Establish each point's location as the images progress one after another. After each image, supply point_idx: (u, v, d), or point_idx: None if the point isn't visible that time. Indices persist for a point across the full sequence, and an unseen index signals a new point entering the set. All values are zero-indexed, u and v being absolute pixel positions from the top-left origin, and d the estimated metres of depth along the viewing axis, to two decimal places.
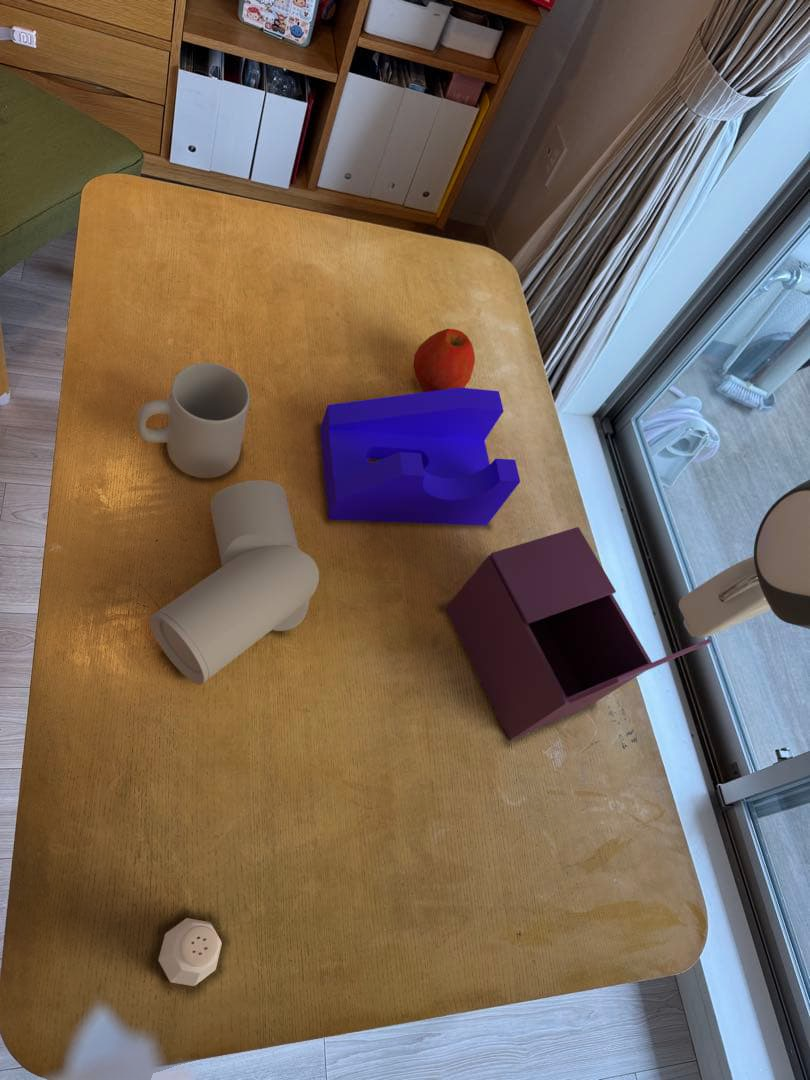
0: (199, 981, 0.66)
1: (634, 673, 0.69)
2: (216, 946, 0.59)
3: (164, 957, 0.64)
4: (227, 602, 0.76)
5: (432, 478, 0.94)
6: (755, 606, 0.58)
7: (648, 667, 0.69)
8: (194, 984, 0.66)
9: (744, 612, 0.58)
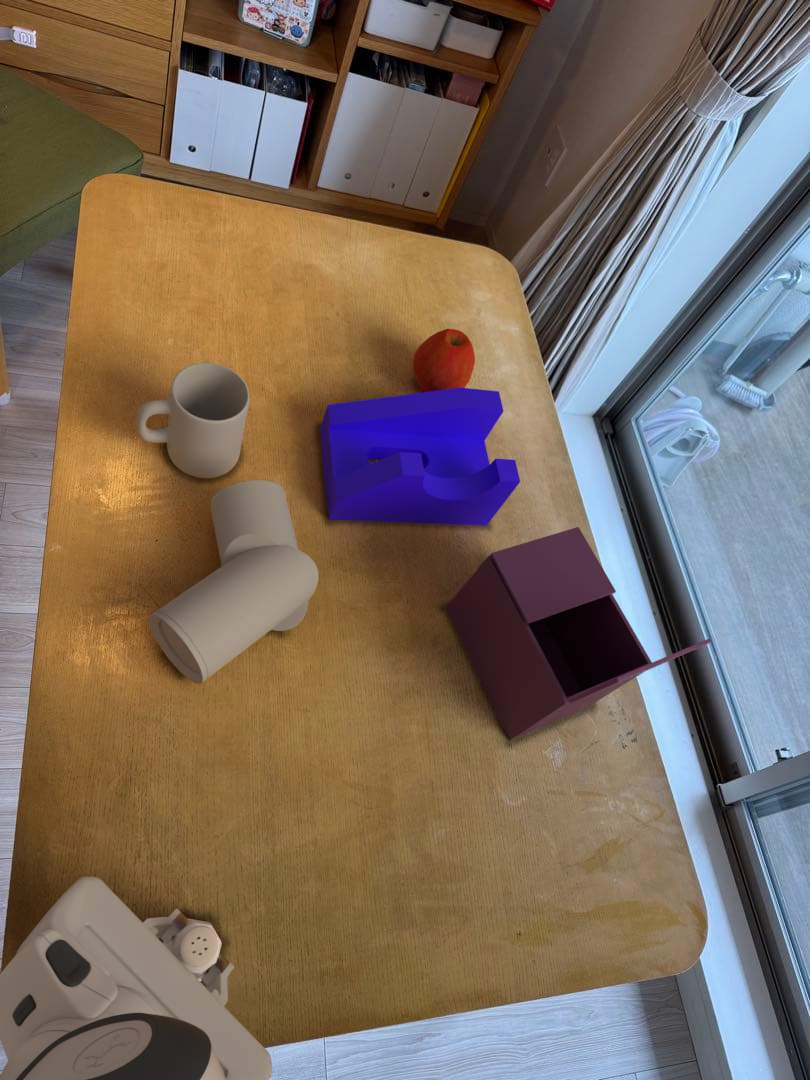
0: None
1: (634, 673, 0.69)
2: (216, 946, 0.59)
3: None
4: (227, 602, 0.76)
5: (432, 478, 0.94)
6: None
7: (648, 667, 0.69)
8: None
9: None
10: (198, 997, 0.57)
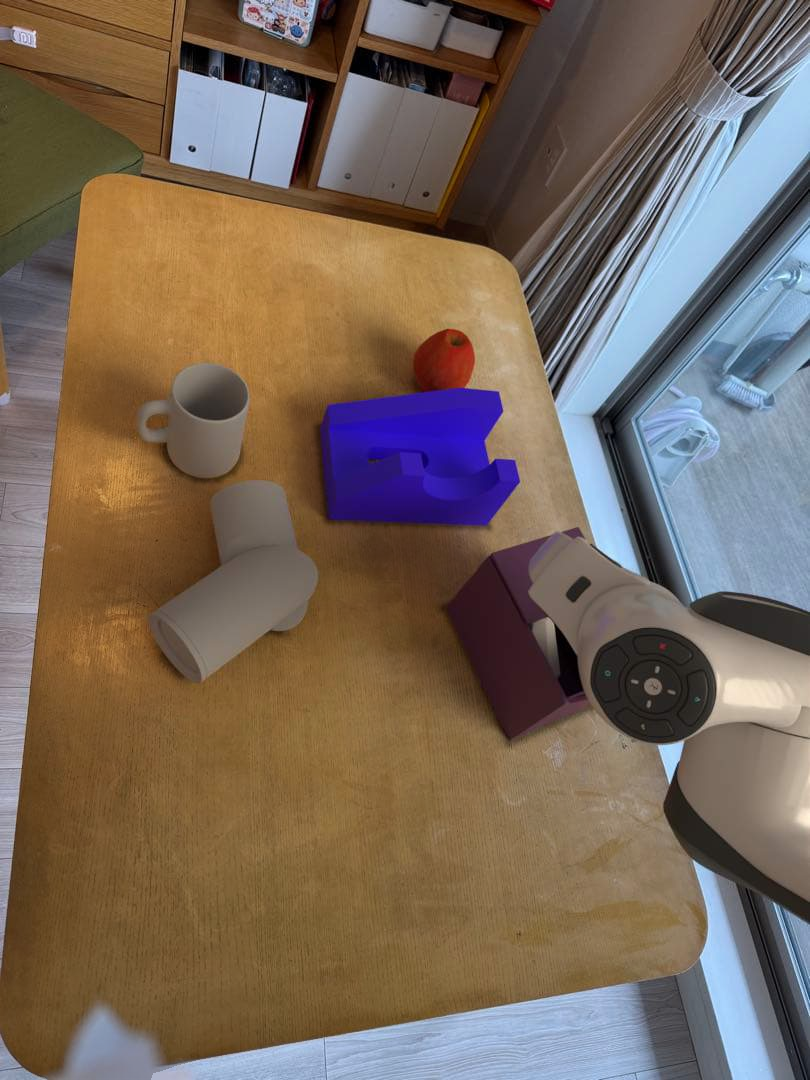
0: None
1: None
2: None
3: None
4: (226, 602, 0.76)
5: (432, 478, 0.94)
6: None
7: None
8: None
9: None
10: None
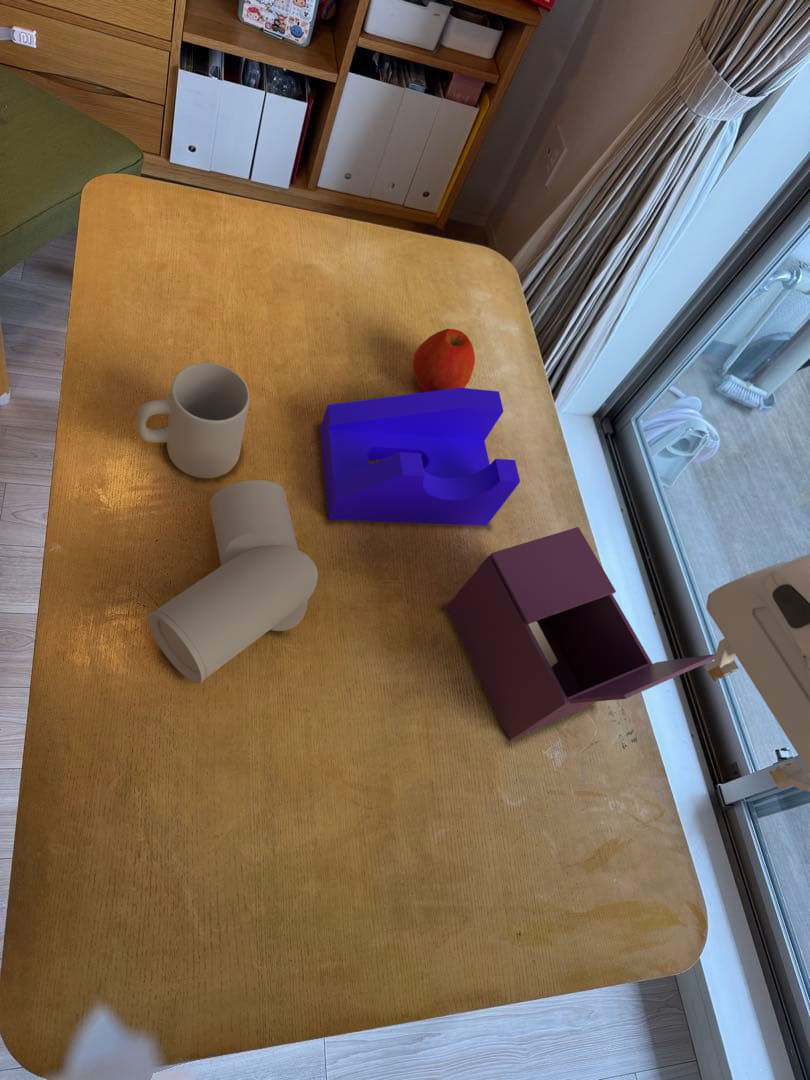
0: None
1: (641, 690, 0.68)
2: None
3: None
4: (226, 601, 0.76)
5: (432, 478, 0.94)
6: None
7: (655, 683, 0.69)
8: None
9: None
10: None
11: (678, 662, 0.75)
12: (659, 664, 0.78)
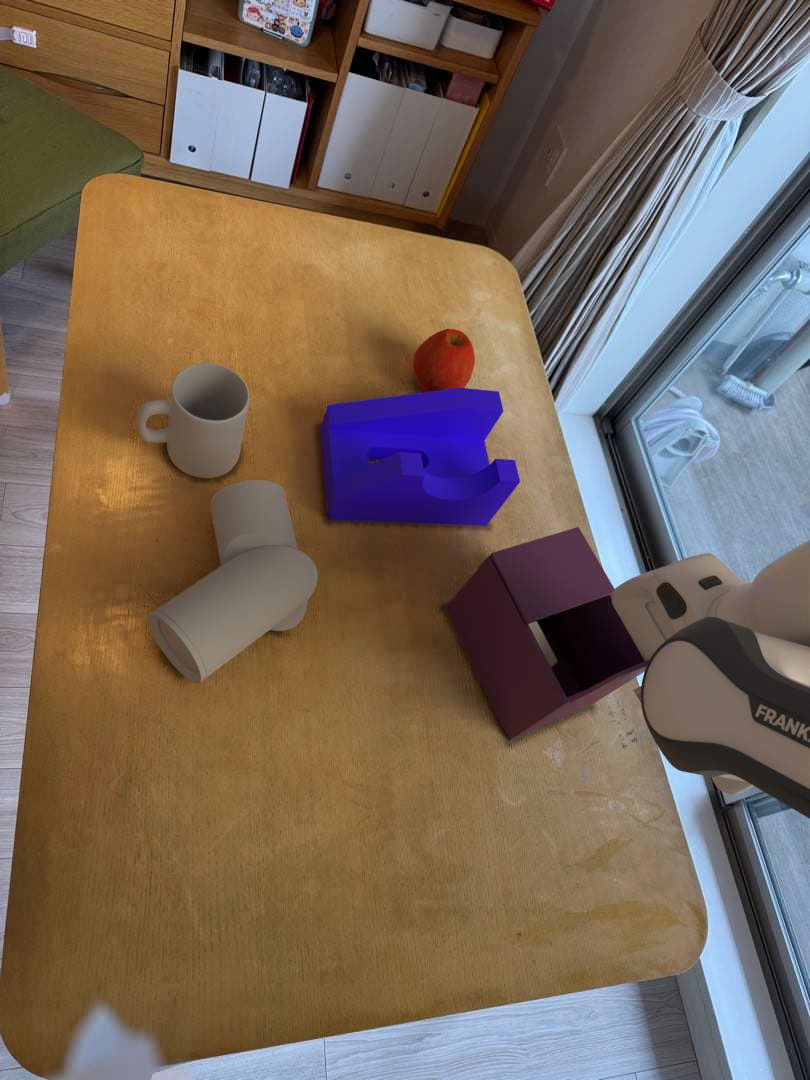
0: None
1: (632, 669, 0.69)
2: None
3: None
4: (225, 601, 0.76)
5: (432, 478, 0.94)
6: None
7: (646, 663, 0.69)
8: None
9: None
10: None
11: None
12: None
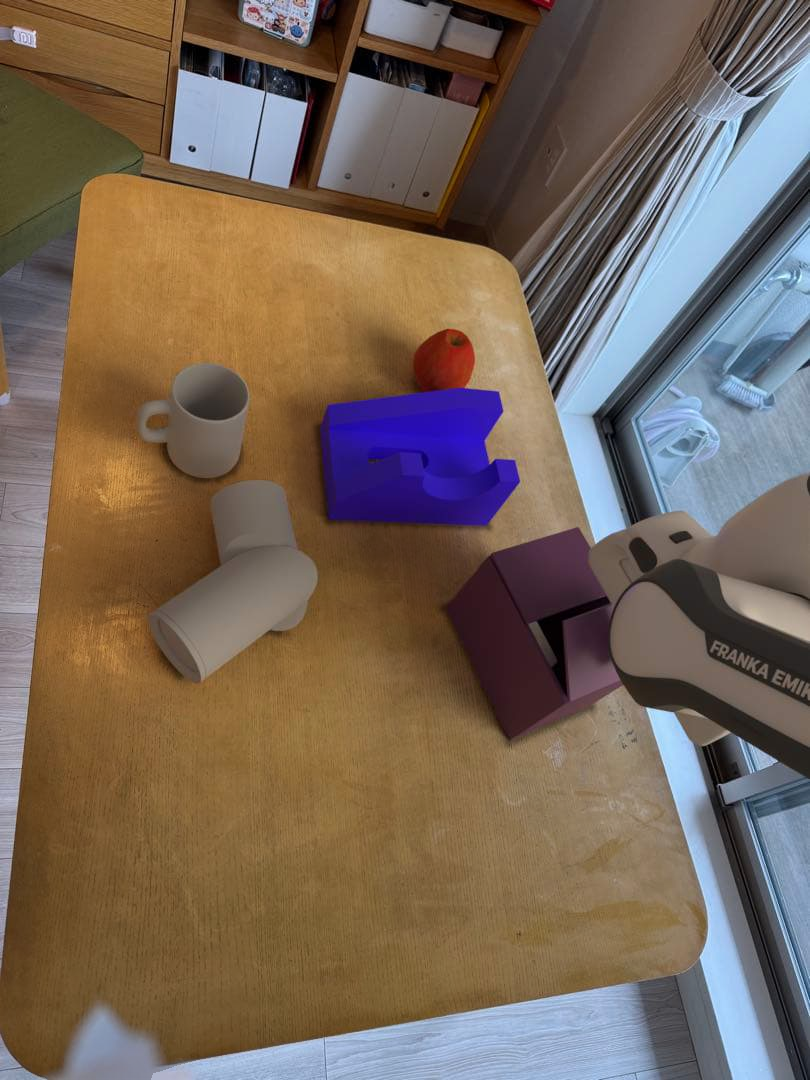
0: None
1: (580, 615, 0.73)
2: None
3: None
4: (225, 601, 0.76)
5: (432, 478, 0.94)
6: None
7: (593, 610, 0.74)
8: None
9: None
10: None
11: None
12: None
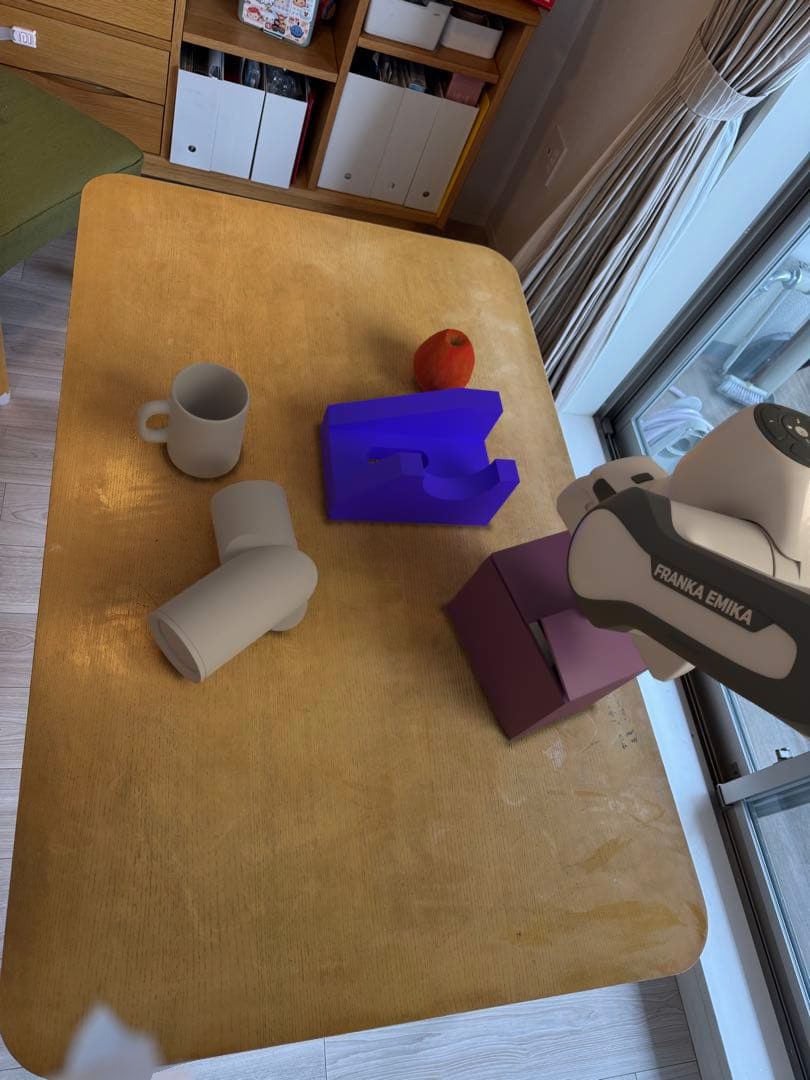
0: None
1: (557, 613, 0.77)
2: None
3: None
4: (225, 601, 0.76)
5: (432, 478, 0.94)
6: None
7: (570, 608, 0.77)
8: None
9: None
10: None
11: None
12: None
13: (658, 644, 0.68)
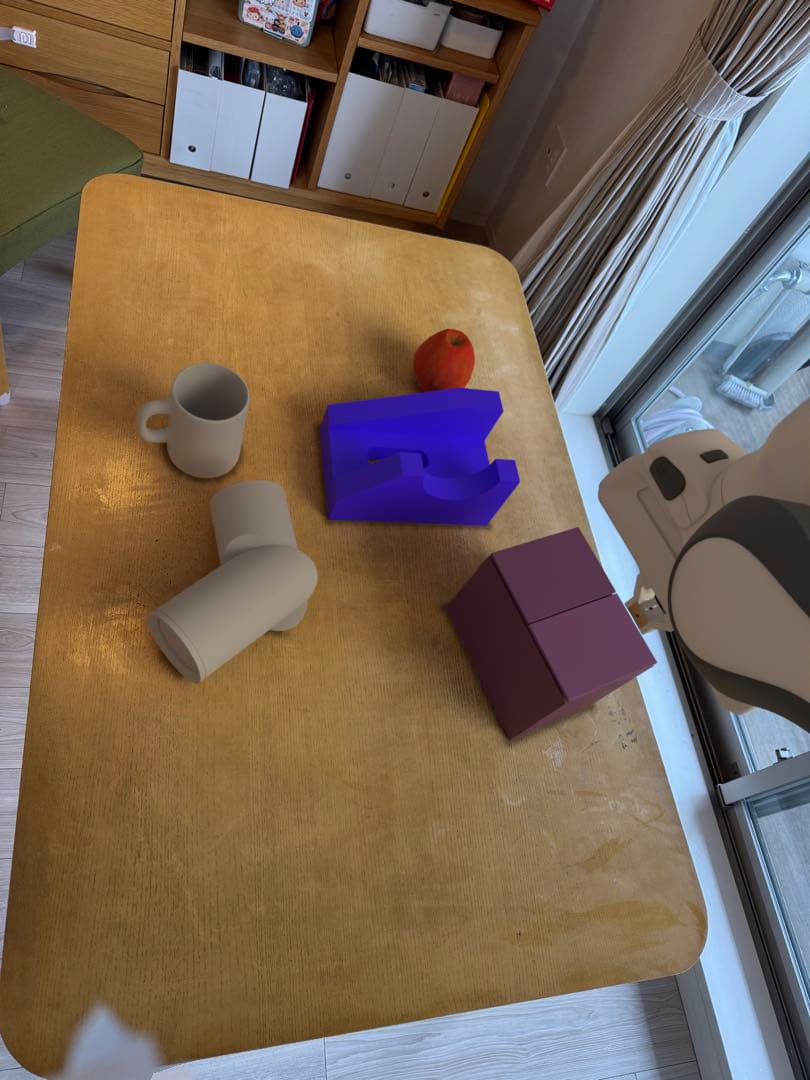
0: None
1: (544, 619, 0.79)
2: None
3: None
4: (225, 601, 0.76)
5: (432, 478, 0.94)
6: None
7: (557, 614, 0.79)
8: None
9: None
10: None
11: None
12: None
13: None
